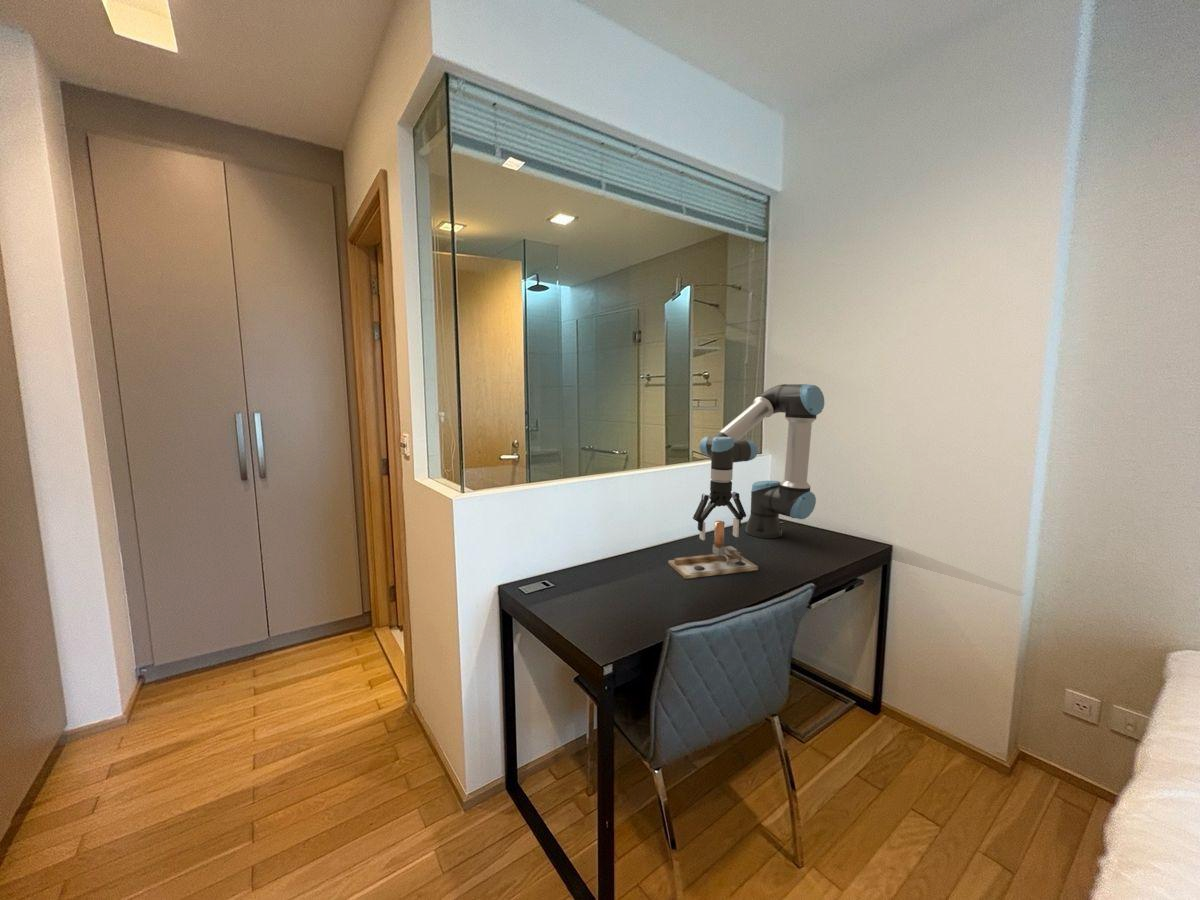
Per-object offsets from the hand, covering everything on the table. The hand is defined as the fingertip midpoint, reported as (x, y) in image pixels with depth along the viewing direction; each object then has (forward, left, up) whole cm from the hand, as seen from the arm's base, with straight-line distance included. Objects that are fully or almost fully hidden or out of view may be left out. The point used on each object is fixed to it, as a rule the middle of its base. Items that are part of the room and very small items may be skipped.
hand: (718, 537), depth 173 cm
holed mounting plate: (+4, +3, -9) cm, 11 cm away
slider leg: (0, +3, -7) cm, 8 cm away
